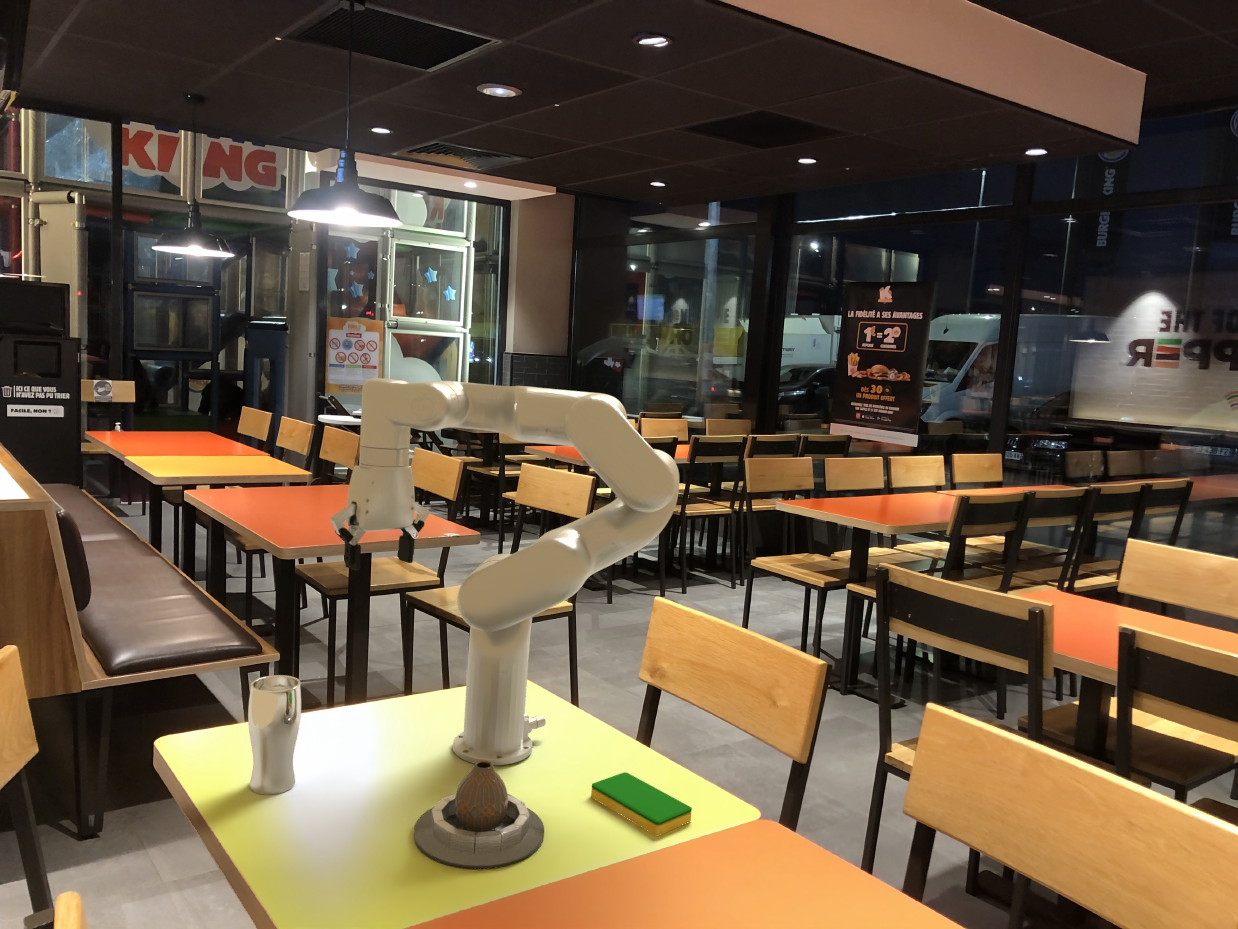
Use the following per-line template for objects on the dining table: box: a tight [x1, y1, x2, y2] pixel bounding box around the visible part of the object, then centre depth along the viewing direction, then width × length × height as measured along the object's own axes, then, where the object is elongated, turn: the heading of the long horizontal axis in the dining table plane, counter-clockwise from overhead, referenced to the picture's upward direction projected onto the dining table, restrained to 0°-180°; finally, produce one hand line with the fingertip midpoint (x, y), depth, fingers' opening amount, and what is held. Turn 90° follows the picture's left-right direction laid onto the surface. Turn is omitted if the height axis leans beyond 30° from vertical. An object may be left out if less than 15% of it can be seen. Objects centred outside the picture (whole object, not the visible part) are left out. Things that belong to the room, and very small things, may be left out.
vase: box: [455, 761, 508, 832], centre depth 122 cm, size 7×7×9 cm
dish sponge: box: [590, 771, 693, 836], centre depth 132 cm, size 7×14×2 cm, turn 43°
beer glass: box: [247, 674, 302, 796], centre depth 130 cm, size 7×7×15 cm
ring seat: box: [413, 792, 545, 870], centre depth 122 cm, size 17×17×3 cm
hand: (379, 564), depth 147 cm, fingers open, 9 cm apart
